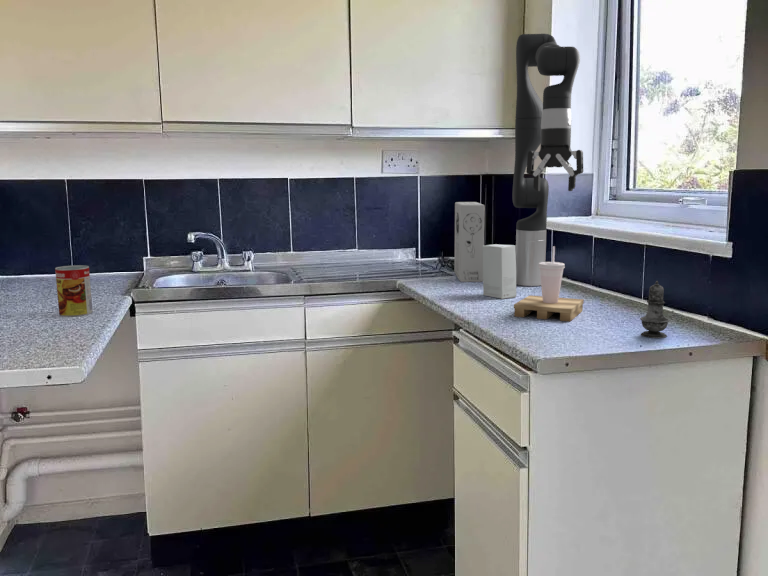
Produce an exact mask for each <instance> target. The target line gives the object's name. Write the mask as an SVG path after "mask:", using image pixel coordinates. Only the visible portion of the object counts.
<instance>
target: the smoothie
mask: <svg viewBox="0 0 768 576" xmlns="http://www.w3.org/2000/svg"><path fill="white" fill-rule="evenodd" d="M551 255H552V256H551V258H552V259H551V261H545V262H541V263H539V266H538V267H539V268H540V277H541V285H540V287H541V296H542V299H543V302H544V303H558V299H559V298H560V292H561V286H562V280H563V274H564V269H565V268H566V266H565V263H563V262H559V261H555V255H556V246H555V245H554V246H552V254H551Z"/></svg>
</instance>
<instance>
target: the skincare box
mask: <svg viewBox="0 0 768 576" xmlns="http://www.w3.org/2000/svg"><path fill="white" fill-rule="evenodd" d="M482 255H483V282H482V283H483V284H482V286H483V289H482V291H483V293H482V294H483V296H484V297H486V296H487V297H489V298H490V297H492V298H496V299H501V300H502V299H503V300H505V299H512V298H516V297H517V284H516V244H515V245H514V244H500V243H499V244H497V243H495V244H486V245H485V244H484V246H482Z"/></svg>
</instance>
